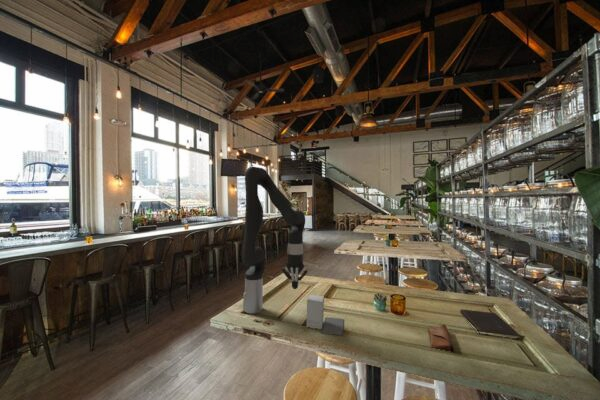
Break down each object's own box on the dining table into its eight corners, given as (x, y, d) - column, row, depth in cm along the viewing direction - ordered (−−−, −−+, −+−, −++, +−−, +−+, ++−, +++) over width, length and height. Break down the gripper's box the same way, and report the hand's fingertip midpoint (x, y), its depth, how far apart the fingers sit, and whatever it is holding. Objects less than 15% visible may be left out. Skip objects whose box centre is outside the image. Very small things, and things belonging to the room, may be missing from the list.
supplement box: (322, 329, 118) (322, 301, 118) (306, 327, 119) (306, 300, 119) (323, 321, 125) (324, 295, 125) (308, 320, 126) (309, 294, 126)
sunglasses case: (425, 327, 121) (434, 316, 119) (440, 337, 119) (449, 326, 117) (430, 348, 104) (440, 336, 103) (447, 361, 102) (457, 348, 101)
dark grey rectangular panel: (321, 333, 114) (321, 332, 114) (325, 317, 129) (325, 317, 129) (342, 335, 113) (342, 334, 113) (343, 319, 127) (343, 318, 127)
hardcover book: (494, 317, 134) (494, 312, 134) (520, 341, 112) (520, 335, 112) (460, 313, 138) (460, 309, 138) (478, 335, 116) (478, 330, 116)
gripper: (279, 253, 121) (279, 290, 121) (307, 254, 119) (307, 292, 119) (283, 250, 129) (283, 285, 129) (310, 251, 126) (309, 286, 126)
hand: (295, 288), depth 124 cm, fingers closed
